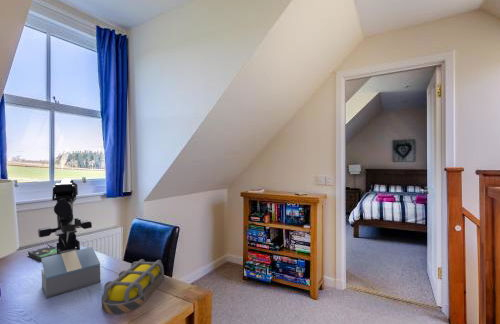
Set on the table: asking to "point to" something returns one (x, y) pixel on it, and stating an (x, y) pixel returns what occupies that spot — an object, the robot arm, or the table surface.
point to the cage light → (132, 287)
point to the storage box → (70, 281)
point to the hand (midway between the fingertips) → (67, 247)
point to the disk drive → (43, 253)
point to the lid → (69, 262)
